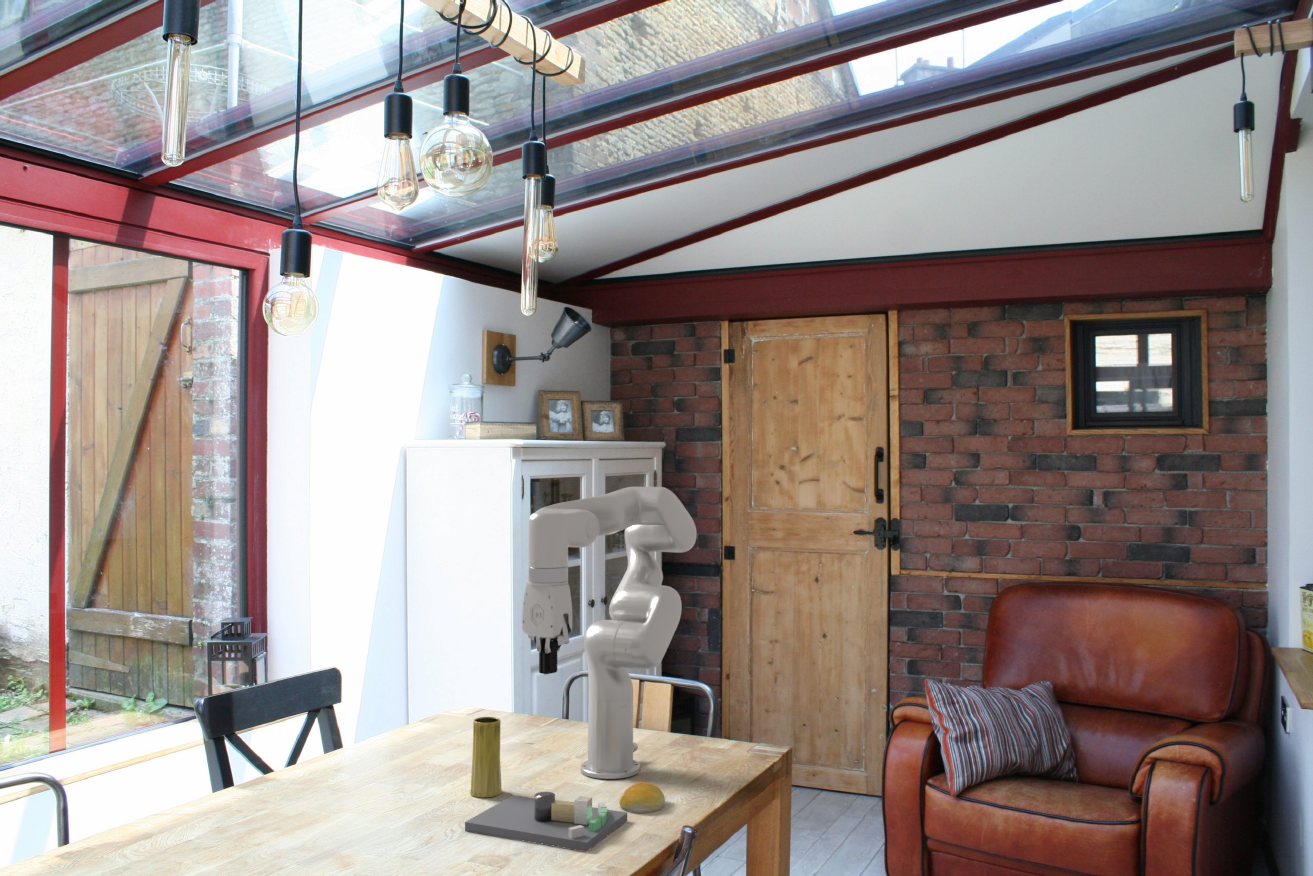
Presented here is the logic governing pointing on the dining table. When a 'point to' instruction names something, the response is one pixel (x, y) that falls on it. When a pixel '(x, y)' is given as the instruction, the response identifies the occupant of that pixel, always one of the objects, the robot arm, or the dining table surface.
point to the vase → (486, 758)
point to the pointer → (562, 809)
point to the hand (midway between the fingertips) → (548, 672)
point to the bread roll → (642, 798)
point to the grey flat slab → (544, 824)
